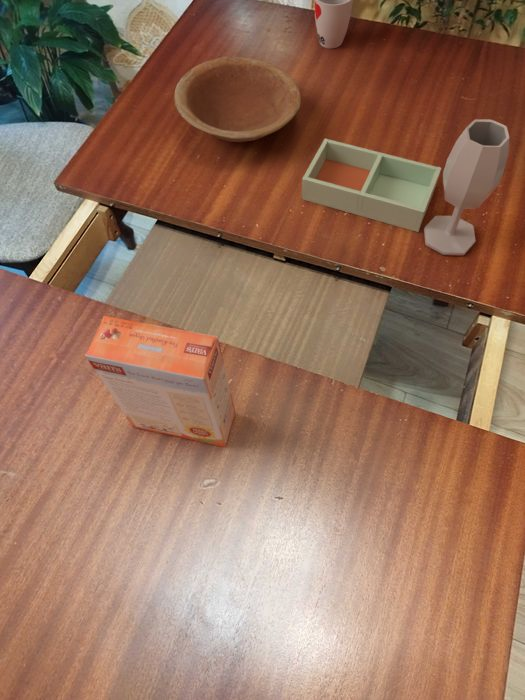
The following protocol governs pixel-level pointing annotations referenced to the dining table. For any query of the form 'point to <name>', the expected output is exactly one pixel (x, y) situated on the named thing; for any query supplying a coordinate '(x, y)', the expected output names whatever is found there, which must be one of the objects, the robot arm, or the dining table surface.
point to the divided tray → (370, 184)
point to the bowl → (237, 98)
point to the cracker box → (165, 379)
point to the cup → (332, 21)
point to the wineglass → (468, 183)
